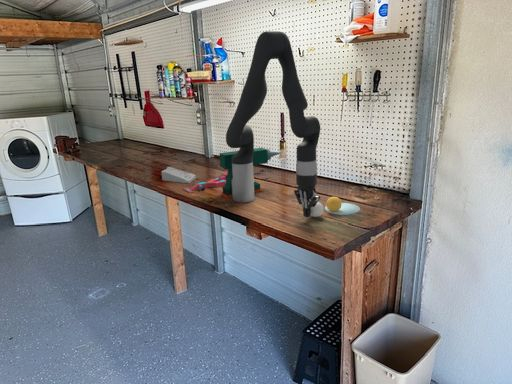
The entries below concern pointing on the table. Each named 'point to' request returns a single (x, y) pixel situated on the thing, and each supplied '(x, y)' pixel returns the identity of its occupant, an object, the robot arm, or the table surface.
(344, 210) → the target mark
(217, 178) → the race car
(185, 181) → the ramp
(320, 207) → the cue ball
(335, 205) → the object ball
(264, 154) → the power tool
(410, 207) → the table surface
